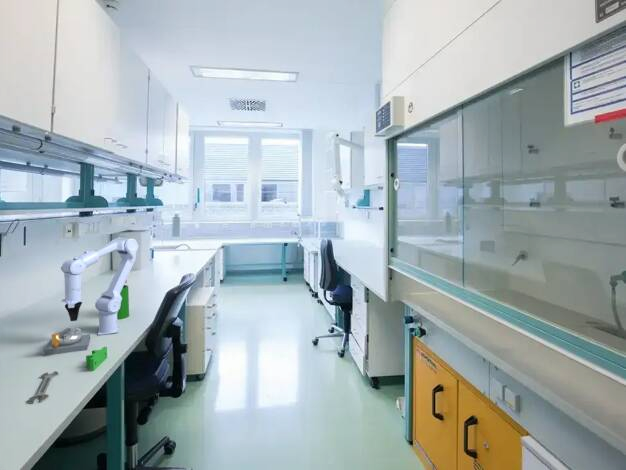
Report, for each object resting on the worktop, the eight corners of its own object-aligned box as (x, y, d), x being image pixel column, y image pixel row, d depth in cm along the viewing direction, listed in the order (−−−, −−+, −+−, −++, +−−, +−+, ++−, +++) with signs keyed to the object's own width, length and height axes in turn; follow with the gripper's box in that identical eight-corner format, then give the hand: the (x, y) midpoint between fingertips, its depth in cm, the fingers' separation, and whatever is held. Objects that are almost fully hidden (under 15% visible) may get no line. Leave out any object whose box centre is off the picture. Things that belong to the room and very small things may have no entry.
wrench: (47, 402, 104) (59, 373, 122) (46, 396, 104) (59, 369, 122) (26, 407, 102) (42, 377, 120) (26, 402, 102) (41, 373, 120)
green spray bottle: (110, 314, 187) (109, 277, 185) (129, 312, 191) (128, 276, 189) (109, 320, 178) (108, 281, 176) (129, 318, 182) (128, 280, 181)
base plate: (50, 343, 147) (50, 339, 146) (90, 338, 153) (90, 334, 153) (44, 355, 135) (43, 350, 135) (87, 349, 142) (87, 344, 141)
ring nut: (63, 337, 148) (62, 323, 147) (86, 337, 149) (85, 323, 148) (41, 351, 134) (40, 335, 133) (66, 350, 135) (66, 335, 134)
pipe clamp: (96, 358, 134) (96, 346, 134) (107, 358, 135) (107, 346, 134) (82, 372, 123) (81, 359, 123) (93, 371, 124) (93, 358, 123)
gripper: (64, 285, 152) (65, 316, 153) (58, 293, 139) (59, 327, 140) (83, 284, 155) (84, 314, 156) (79, 291, 142) (80, 324, 143)
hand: (74, 320), depth 148 cm, fingers closed
